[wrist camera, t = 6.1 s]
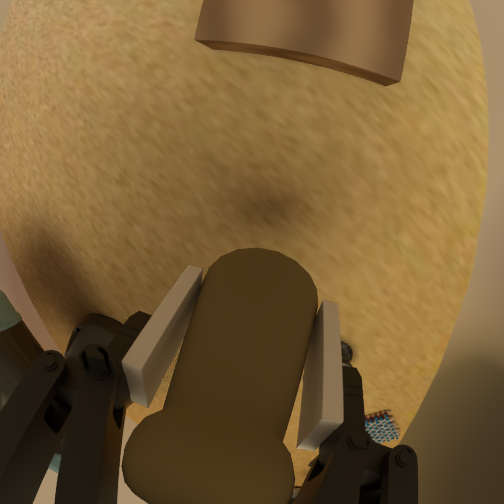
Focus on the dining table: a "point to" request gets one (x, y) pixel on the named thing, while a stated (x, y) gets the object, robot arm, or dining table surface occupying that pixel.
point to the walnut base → (314, 32)
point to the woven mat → (381, 426)
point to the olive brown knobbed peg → (230, 389)
